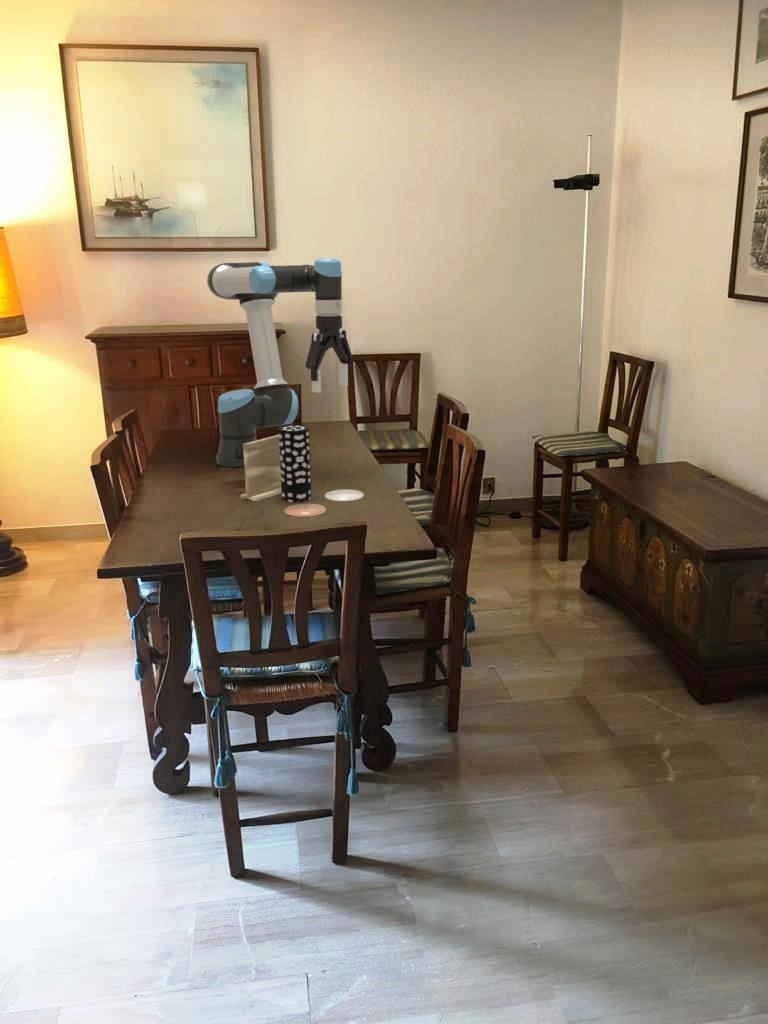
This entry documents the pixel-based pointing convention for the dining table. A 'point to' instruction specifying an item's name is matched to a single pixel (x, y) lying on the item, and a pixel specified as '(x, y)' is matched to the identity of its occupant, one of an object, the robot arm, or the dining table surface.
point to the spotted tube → (295, 463)
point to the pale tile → (344, 495)
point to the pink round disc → (305, 510)
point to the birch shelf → (262, 468)
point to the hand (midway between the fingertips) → (330, 388)
